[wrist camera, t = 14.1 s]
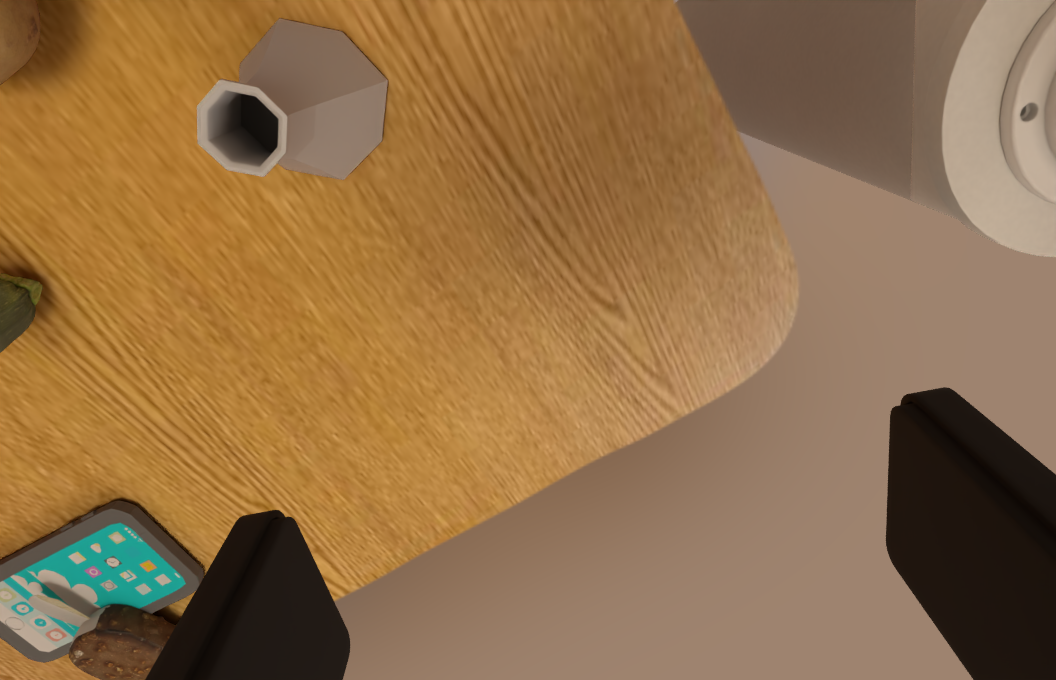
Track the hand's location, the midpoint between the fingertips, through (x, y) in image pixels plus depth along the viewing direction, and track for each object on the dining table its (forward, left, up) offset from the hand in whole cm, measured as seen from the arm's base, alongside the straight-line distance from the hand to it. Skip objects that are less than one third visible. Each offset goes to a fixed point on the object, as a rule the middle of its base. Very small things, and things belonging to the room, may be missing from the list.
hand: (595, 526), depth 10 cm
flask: (+9, -6, -26) cm, 29 cm away
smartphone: (+35, +19, -26) cm, 48 cm away
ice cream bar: (+37, +17, -24) cm, 47 cm away
